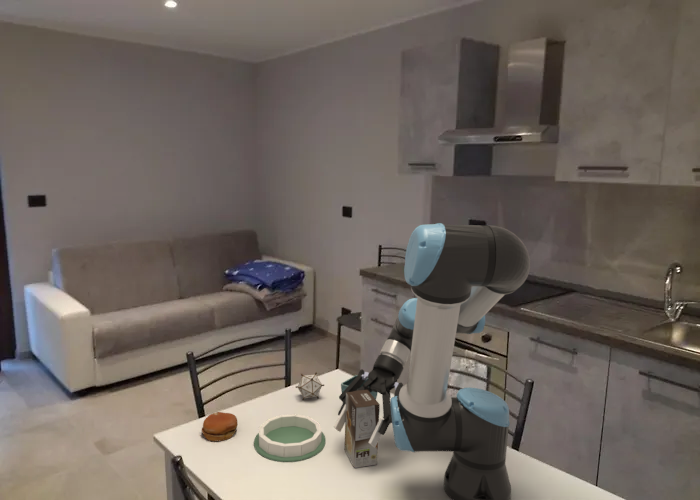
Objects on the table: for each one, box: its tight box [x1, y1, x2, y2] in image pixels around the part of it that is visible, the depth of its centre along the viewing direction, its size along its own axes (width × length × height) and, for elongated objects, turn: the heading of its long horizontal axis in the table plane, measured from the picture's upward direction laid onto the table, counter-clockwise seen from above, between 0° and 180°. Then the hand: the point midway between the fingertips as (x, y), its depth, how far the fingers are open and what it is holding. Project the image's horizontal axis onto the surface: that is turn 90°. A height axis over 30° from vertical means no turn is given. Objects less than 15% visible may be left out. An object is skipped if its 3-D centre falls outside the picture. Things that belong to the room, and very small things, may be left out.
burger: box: [201, 411, 239, 442], centre depth 138 cm, size 10×9×5 cm
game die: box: [295, 371, 325, 401], centre depth 160 cm, size 9×8×10 cm
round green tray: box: [253, 413, 326, 463], centre depth 134 cm, size 19×19×4 cm
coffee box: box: [344, 390, 380, 469], centre depth 127 cm, size 9×6×16 cm
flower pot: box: [340, 374, 379, 400], centre depth 153 cm, size 9×9×9 cm
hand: (353, 437), depth 125 cm, fingers closed on coffee box, 10 cm apart
